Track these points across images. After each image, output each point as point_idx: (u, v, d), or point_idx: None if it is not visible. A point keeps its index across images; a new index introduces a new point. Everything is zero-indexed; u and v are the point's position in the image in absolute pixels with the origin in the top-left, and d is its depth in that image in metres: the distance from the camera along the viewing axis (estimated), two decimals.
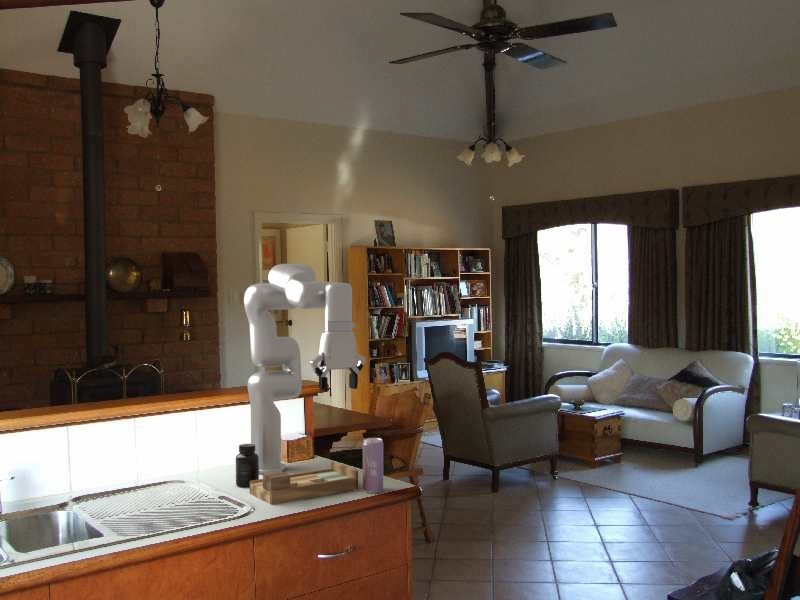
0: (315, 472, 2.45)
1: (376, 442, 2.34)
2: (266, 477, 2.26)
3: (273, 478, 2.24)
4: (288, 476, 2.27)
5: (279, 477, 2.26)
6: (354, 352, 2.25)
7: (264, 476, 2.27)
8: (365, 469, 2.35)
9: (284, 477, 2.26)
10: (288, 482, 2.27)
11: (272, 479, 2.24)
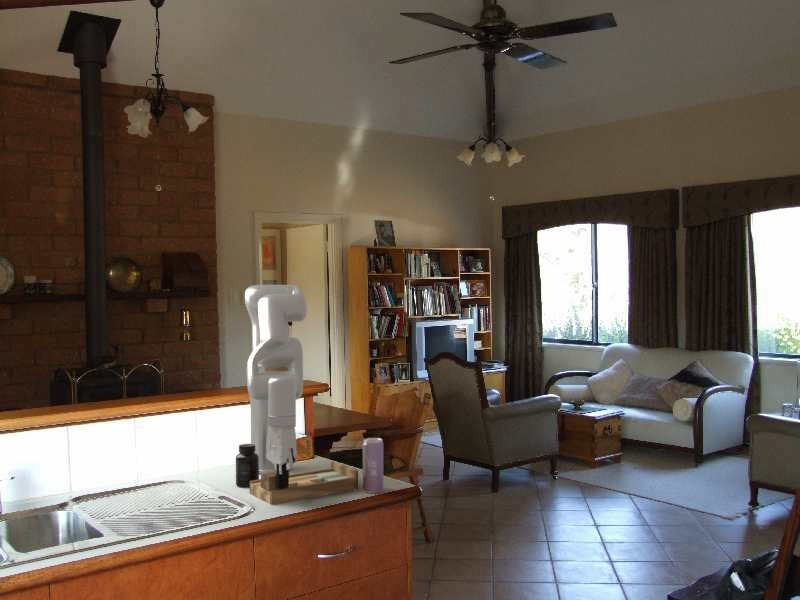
0: (315, 472, 2.45)
1: (376, 442, 2.34)
2: (264, 476, 2.27)
3: (271, 477, 2.25)
4: None
5: None
6: None
7: (262, 475, 2.28)
8: (365, 469, 2.35)
9: None
10: None
11: (270, 478, 2.25)
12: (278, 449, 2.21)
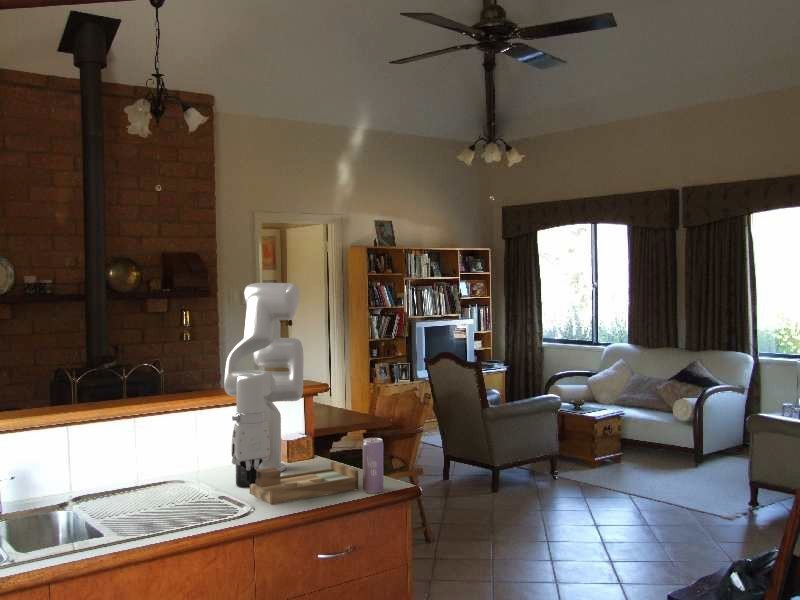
0: (315, 472, 2.45)
1: (376, 442, 2.34)
2: (257, 473, 2.31)
3: (263, 473, 2.30)
4: (278, 471, 2.32)
5: (269, 472, 2.31)
6: None
7: None
8: (365, 469, 2.35)
9: (274, 472, 2.32)
10: (278, 477, 2.32)
11: (262, 474, 2.29)
12: (264, 443, 2.29)
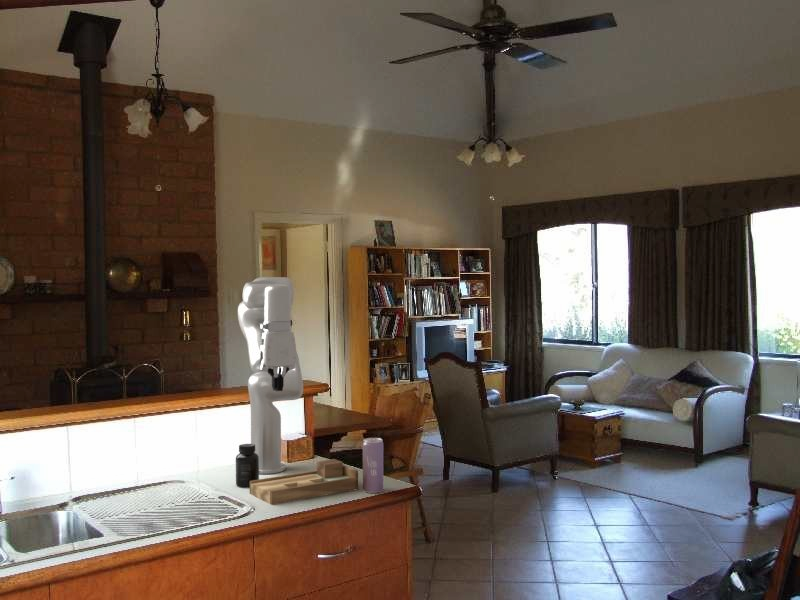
0: (315, 472, 2.45)
1: (376, 442, 2.34)
2: (320, 464, 2.42)
3: (327, 465, 2.40)
4: (341, 463, 2.43)
5: (332, 464, 2.41)
6: None
7: (318, 463, 2.43)
8: (365, 469, 2.35)
9: (337, 464, 2.42)
10: (341, 469, 2.43)
11: (326, 466, 2.40)
12: (291, 351, 2.37)
